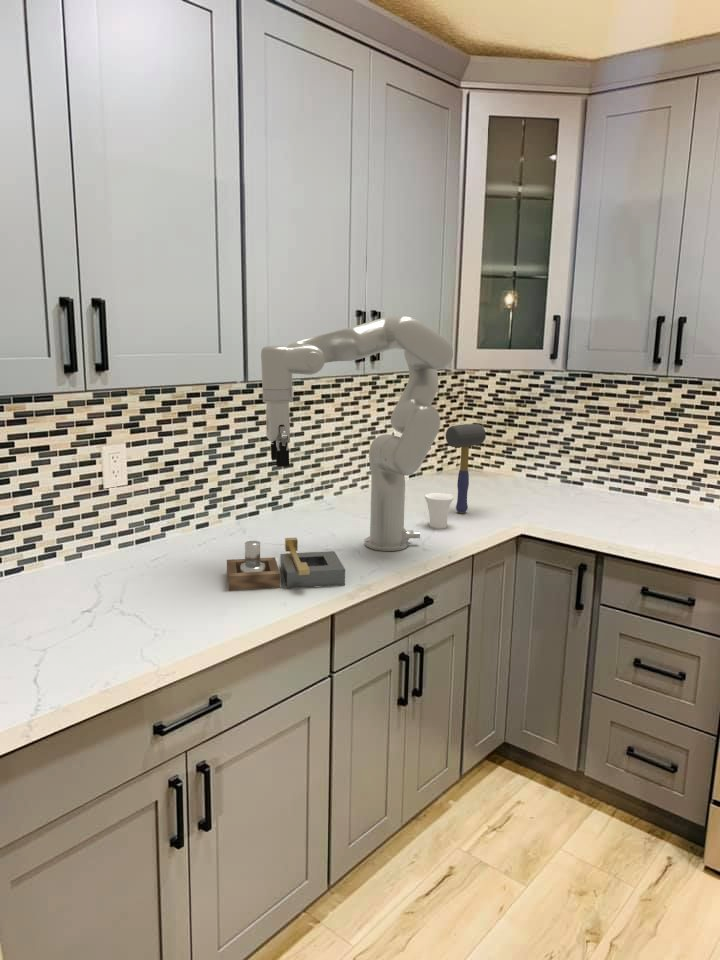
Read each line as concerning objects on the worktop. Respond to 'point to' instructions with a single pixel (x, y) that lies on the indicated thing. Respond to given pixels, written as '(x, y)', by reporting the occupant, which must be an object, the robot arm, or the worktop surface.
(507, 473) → the worktop surface
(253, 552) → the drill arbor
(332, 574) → the spindle block
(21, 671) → the worktop surface
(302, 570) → the brass key
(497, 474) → the worktop surface
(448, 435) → the rubber mallet
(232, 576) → the frame
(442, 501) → the cup
